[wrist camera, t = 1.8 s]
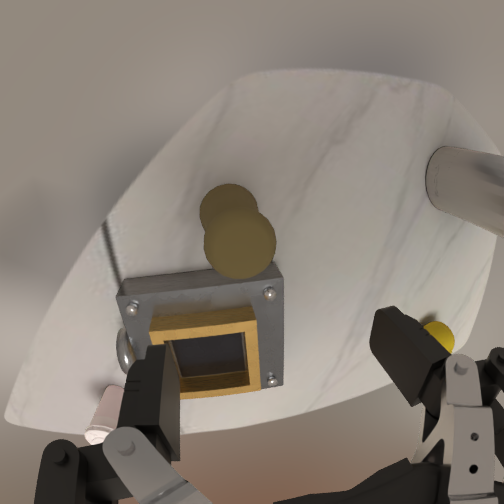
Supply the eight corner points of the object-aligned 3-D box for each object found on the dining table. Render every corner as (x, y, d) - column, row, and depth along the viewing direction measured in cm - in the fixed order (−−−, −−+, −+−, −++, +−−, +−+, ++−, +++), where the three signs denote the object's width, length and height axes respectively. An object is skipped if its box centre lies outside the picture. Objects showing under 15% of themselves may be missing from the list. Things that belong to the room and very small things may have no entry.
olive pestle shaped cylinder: (218, 172, 27) (227, 189, 17) (269, 202, 29) (304, 235, 19) (188, 224, 29) (181, 269, 19) (238, 250, 31) (256, 305, 21)
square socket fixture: (274, 261, 32) (290, 289, 26) (276, 365, 38) (288, 399, 32) (111, 280, 29) (94, 311, 24) (146, 379, 35) (141, 414, 30)
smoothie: (91, 378, 34) (69, 453, 21) (130, 379, 35) (116, 460, 22) (105, 404, 37) (91, 475, 24) (141, 406, 38) (134, 481, 25)
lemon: (415, 344, 43) (440, 371, 35) (408, 328, 40) (435, 357, 33) (437, 324, 42) (463, 349, 35) (432, 307, 40) (461, 332, 33)
